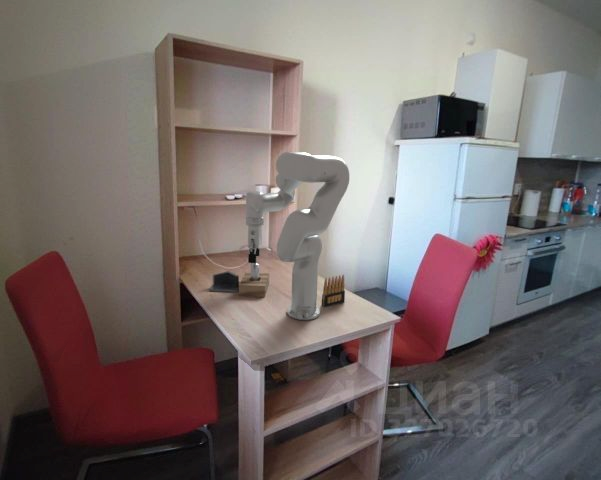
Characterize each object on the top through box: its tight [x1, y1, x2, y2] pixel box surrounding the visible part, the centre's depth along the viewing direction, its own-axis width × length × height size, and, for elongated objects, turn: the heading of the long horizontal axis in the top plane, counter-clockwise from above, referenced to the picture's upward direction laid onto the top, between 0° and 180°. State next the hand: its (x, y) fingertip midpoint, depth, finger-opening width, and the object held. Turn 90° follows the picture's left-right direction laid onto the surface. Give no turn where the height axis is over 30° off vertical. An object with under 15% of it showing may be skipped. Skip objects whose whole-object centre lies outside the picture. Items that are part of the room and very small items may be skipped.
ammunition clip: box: [320, 274, 346, 308], centre depth 144 cm, size 11×2×12 cm, turn 123°
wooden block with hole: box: [238, 272, 270, 298], centre depth 157 cm, size 16×11×5 cm
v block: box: [209, 270, 241, 293], centre depth 158 cm, size 12×10×6 cm
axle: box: [250, 262, 260, 281], centre depth 156 cm, size 4×4×12 cm
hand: (253, 259), depth 155 cm, fingers open, 9 cm apart
